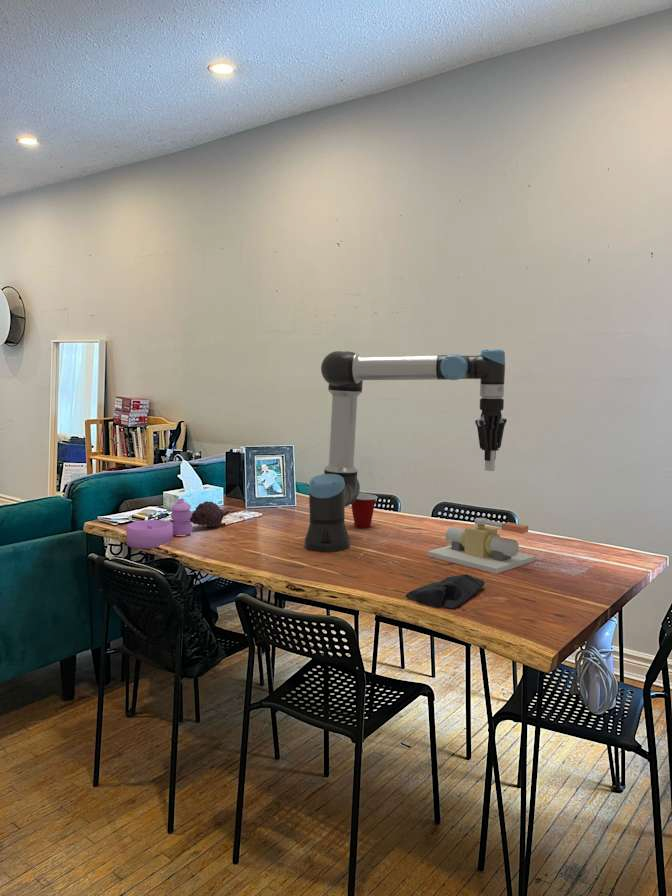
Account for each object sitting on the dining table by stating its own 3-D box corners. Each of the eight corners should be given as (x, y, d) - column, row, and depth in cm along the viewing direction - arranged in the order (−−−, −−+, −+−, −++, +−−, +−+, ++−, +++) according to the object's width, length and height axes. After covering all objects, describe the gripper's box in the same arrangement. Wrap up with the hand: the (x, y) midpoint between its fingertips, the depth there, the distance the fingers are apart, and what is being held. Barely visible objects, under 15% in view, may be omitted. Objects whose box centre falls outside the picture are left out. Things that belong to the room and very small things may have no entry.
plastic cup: (378, 529, 256) (378, 497, 255) (348, 529, 256) (348, 497, 255) (377, 523, 267) (377, 492, 265) (348, 523, 267) (348, 492, 266)
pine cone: (196, 534, 251) (195, 506, 250) (180, 529, 258) (179, 503, 257) (235, 525, 264) (234, 499, 263) (219, 522, 271) (218, 496, 270)
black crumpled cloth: (494, 591, 186) (495, 573, 186) (451, 613, 169) (451, 594, 169) (445, 580, 196) (445, 563, 195) (399, 600, 179) (400, 582, 179)
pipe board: (496, 573, 200) (496, 536, 199) (427, 556, 219) (427, 522, 218) (535, 560, 213) (536, 526, 212) (467, 545, 233) (467, 513, 231)
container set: (144, 550, 229) (143, 511, 227) (118, 543, 238) (116, 505, 237) (204, 536, 248) (203, 500, 246) (177, 530, 258) (176, 495, 256)
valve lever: (471, 524, 215) (472, 518, 215) (479, 522, 218) (479, 516, 218) (521, 533, 202) (521, 527, 202) (528, 531, 205) (529, 525, 205)
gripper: (487, 398, 217) (485, 473, 219) (514, 397, 225) (511, 470, 227) (469, 397, 223) (467, 470, 225) (495, 396, 230) (493, 467, 233)
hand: (489, 470), depth 226 cm, fingers closed
